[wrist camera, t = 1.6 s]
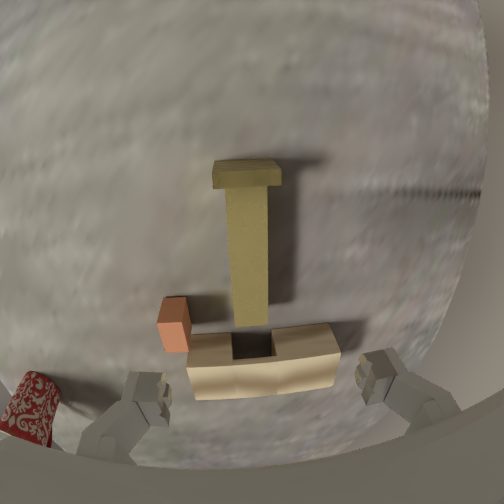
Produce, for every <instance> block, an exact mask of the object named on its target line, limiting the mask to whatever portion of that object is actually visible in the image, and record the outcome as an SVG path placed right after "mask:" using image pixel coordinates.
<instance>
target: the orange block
mask: <svg viewBox="0 0 504 504" xmlns="http://www.w3.org/2000/svg"><path fill="white" fill-rule="evenodd" d="M157 325H158V329H159V332H160V335H161V339H162V342H163V345H164V348H165V351H166V353H176V352H189V348H190V338H191V329H192V325H191V320H190V315H189V310H188V305H187V300H186V297H173V298H163V301H162V305H161V309H160V312H159V316H158V320H157Z"/></svg>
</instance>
